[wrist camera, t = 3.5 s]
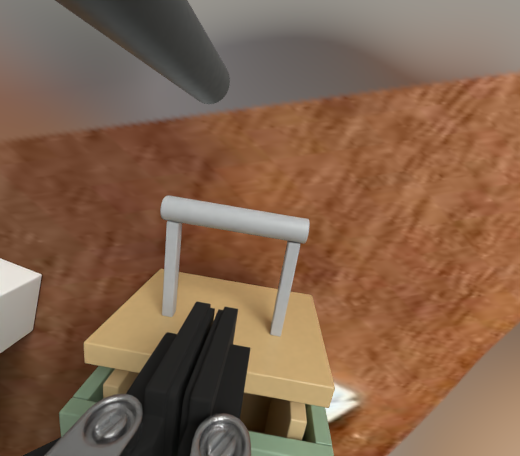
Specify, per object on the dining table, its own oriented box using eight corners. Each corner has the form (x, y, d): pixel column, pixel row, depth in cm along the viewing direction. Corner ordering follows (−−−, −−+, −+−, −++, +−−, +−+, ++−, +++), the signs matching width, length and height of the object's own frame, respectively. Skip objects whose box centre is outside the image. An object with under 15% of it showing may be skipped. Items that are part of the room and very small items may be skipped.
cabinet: (156, 297, 21) (57, 412, 11) (309, 325, 20) (336, 465, 11) (150, 428, 25) (73, 591, 15) (278, 452, 24) (278, 632, 15)
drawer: (164, 179, 17) (75, 197, 9) (333, 207, 17) (378, 248, 9) (153, 405, 23) (91, 528, 15) (279, 428, 22) (280, 566, 15)
